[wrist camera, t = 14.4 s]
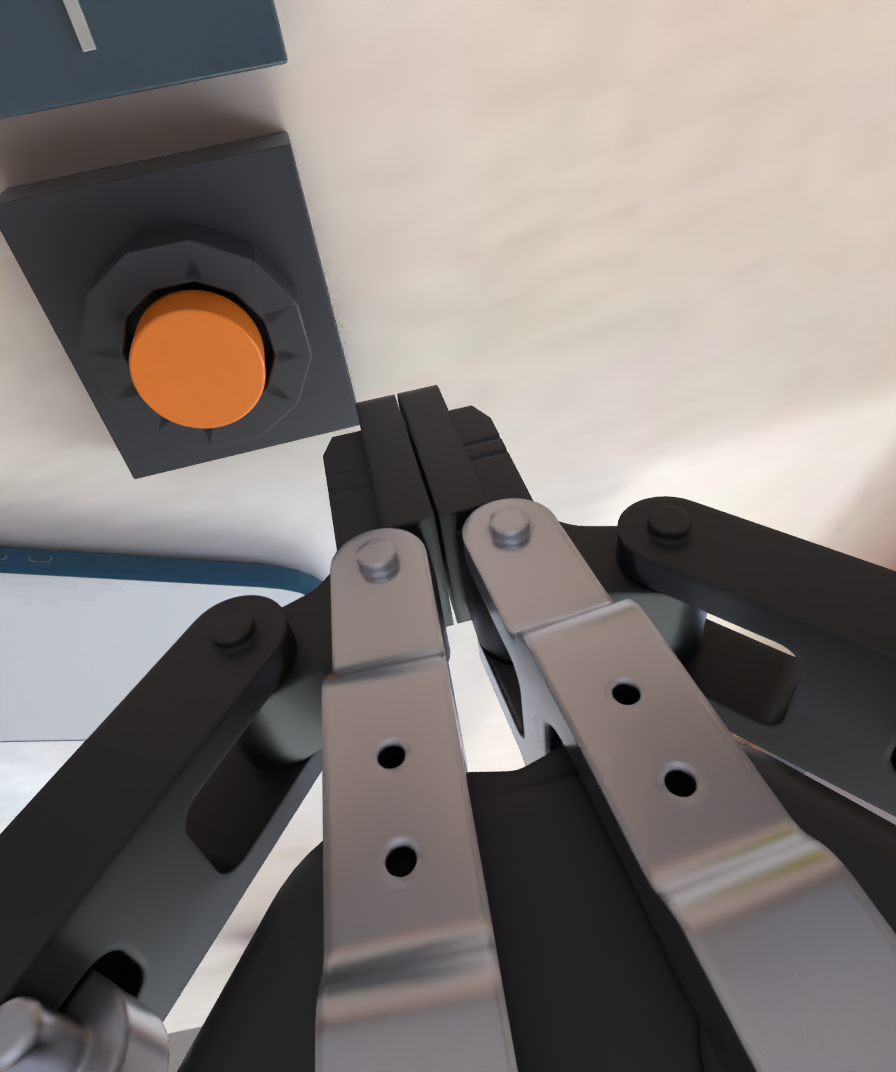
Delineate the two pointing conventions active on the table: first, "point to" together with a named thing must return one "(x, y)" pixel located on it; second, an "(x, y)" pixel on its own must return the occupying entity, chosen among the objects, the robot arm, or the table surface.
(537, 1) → the table surface
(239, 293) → the button box
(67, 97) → the dial panel
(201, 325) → the button
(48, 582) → the external hard drive
